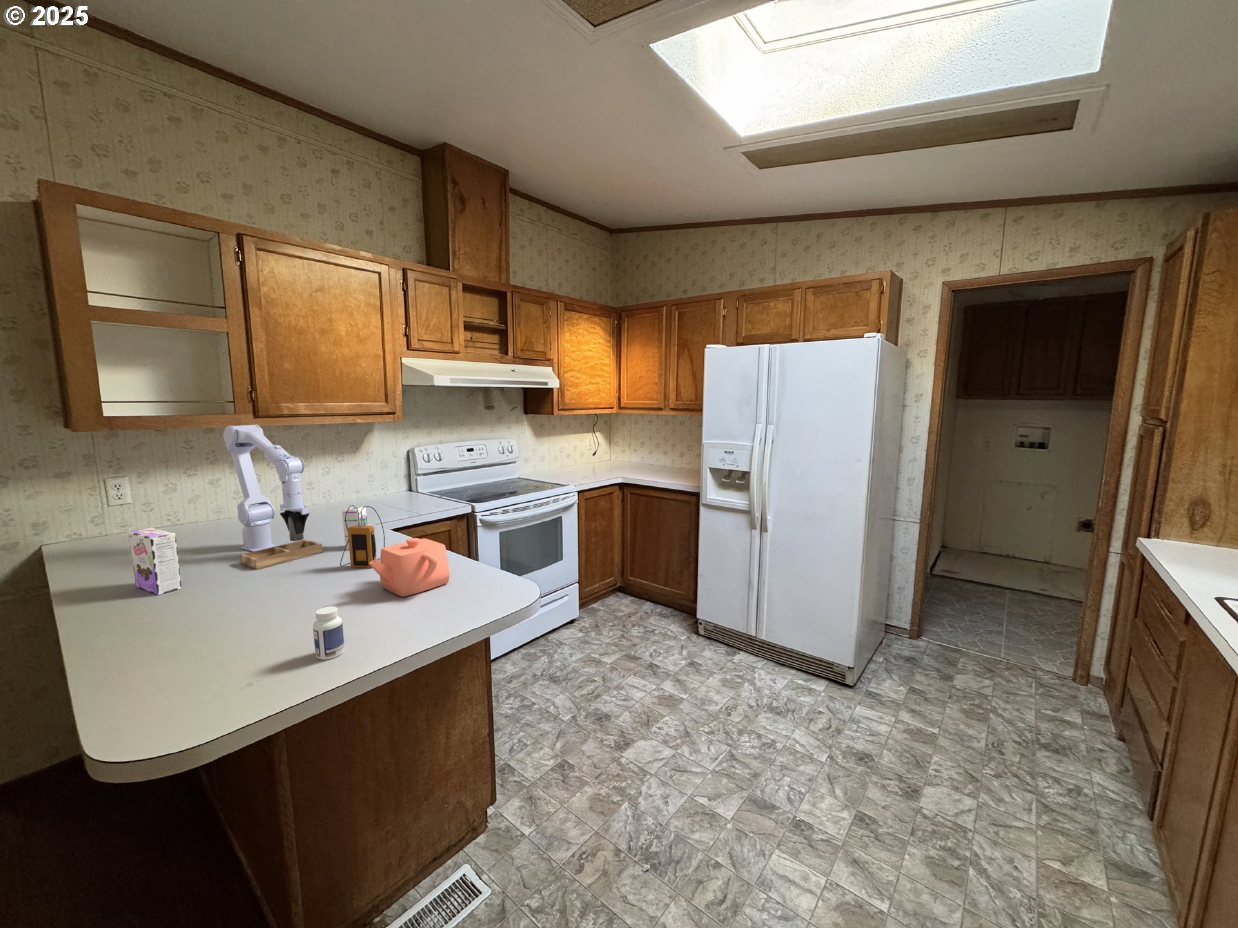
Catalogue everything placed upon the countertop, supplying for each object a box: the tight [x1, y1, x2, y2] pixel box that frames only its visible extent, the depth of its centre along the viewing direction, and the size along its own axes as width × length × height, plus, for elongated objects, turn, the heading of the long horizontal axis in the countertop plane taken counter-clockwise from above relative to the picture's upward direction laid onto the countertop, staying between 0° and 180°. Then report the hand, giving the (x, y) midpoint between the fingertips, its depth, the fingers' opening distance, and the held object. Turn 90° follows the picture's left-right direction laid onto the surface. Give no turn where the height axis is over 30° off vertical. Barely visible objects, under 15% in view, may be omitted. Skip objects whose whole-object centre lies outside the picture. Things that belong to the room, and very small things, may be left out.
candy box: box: [128, 527, 183, 596], centre depth 146 cm, size 14×6×16 cm, turn 62°
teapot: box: [369, 537, 450, 598], centre depth 144 cm, size 20×22×14 cm
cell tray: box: [239, 539, 323, 570], centre depth 172 cm, size 11×20×3 cm, turn 148°
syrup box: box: [341, 505, 368, 551], centre depth 183 cm, size 6×6×14 cm
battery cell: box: [288, 516, 305, 542], centre depth 175 cm, size 4×4×9 cm
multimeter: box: [339, 505, 386, 569], centre depth 166 cm, size 15×10×20 cm
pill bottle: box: [312, 606, 345, 661], centre depth 108 cm, size 5×5×10 cm
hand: (296, 532), depth 176 cm, fingers closed on battery cell, 4 cm apart
